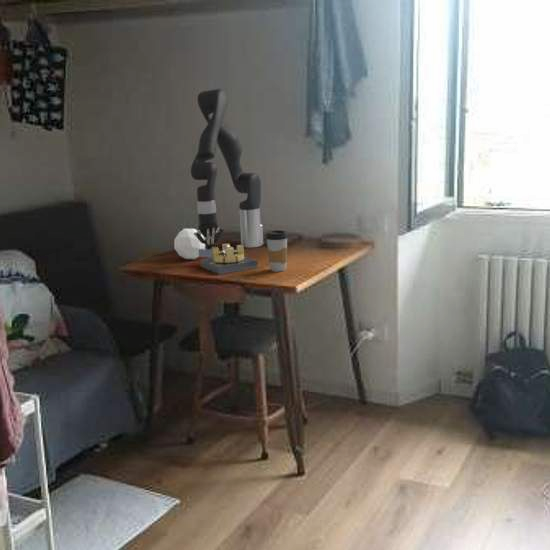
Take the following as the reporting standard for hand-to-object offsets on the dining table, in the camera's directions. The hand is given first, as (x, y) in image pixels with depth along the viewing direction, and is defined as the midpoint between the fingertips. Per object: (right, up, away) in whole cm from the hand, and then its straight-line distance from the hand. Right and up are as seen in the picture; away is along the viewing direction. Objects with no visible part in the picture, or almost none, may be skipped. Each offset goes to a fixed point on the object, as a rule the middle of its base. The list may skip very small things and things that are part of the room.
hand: (210, 253), depth 299 cm
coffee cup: (+28, -7, -16) cm, 33 cm away
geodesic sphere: (-9, -2, +12) cm, 15 cm away
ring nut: (+5, -2, -6) cm, 8 cm away
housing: (+8, -6, -8) cm, 13 cm away
